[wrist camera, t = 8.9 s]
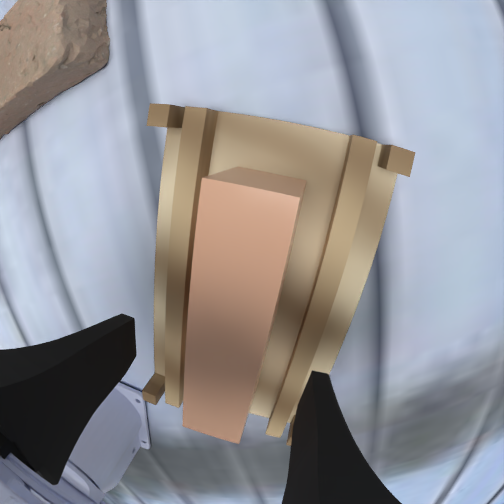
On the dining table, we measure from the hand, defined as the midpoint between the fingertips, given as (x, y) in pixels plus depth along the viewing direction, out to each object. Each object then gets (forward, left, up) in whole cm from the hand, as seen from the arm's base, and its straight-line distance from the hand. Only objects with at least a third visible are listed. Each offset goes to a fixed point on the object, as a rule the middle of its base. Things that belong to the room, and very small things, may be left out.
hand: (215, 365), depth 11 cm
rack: (0, 0, -6) cm, 6 cm away
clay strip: (0, 0, -5) cm, 5 cm away
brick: (+13, +20, -7) cm, 24 cm away
